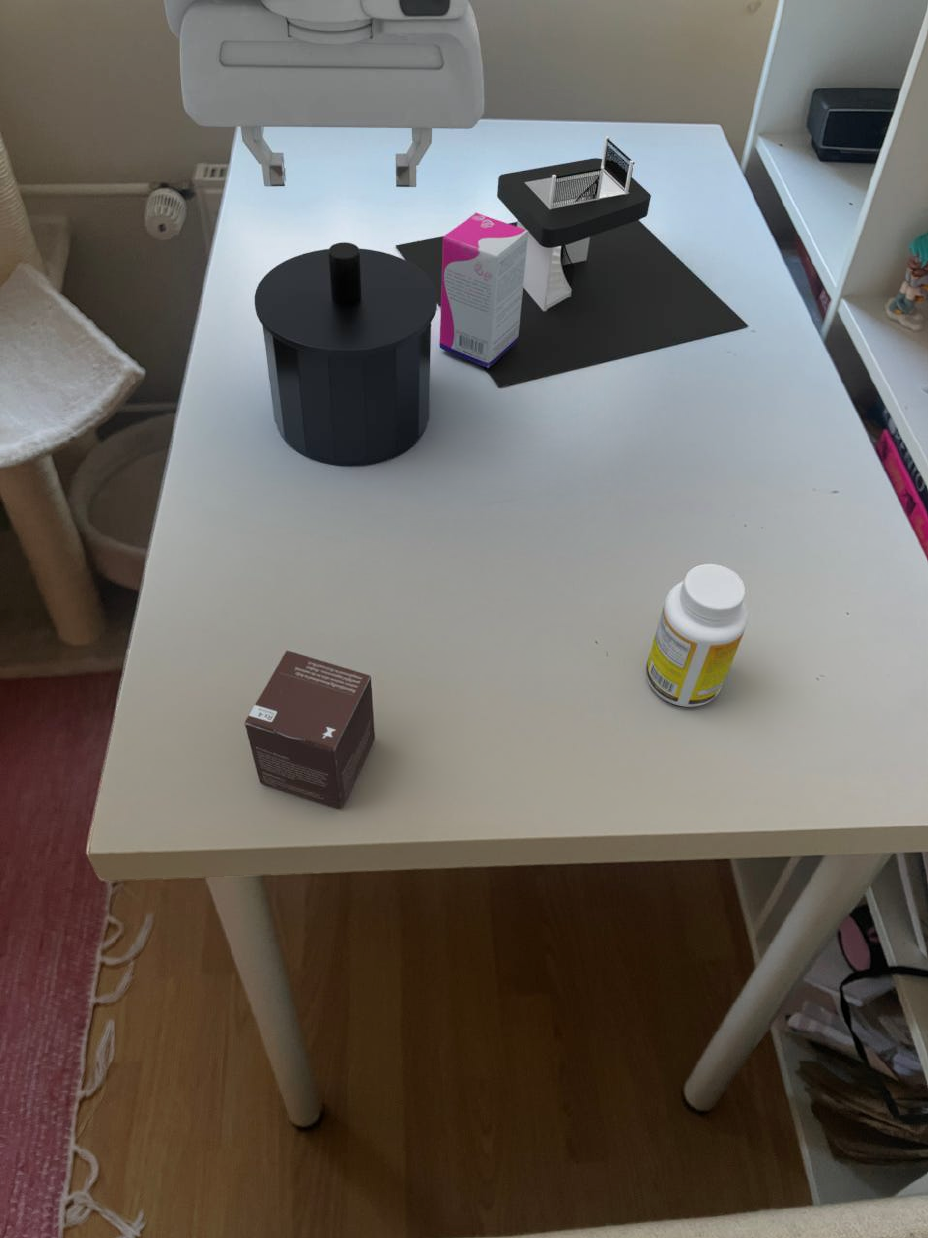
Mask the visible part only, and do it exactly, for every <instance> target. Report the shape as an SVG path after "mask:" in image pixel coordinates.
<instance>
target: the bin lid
mask: <svg viewBox="0 0 928 1238" xmlns="http://www.w3.org/2000/svg"><path fill="white" fill-rule="evenodd" d="M254 309H255V313H256V317H257V318H258V320H259V322H260V324H261V325H263V326H264V328H265V329H266V330H267V331H268V332H269V333H270V334H271V335H273V336H274V337H275V338H277V339H278V340H280V341H282V342H284V343H285V344H287V345H289V346H292V347H294V348H297V349H300V350H303V351H306V352H310V353H315V354H320V355H328V356H342V357H349V356H363V355H371V354H376V353H381V352H385V351H388V350H391V349H394V348H397V347H399V346H402V345H404V344H406V343H408V342H410V341H412V340H413V339H415V338H416V337H417V336H419V335H420V334H421V333H422V332H423V331H425V330H426V329H427V327H428V326H429V325H430V324H431V325H432V322H433V320H434V318H435V316H436V313H437V309H438V303H437V294H436V290H435V288H434V285H433V283H432V282H431V280H430V279H429V277H428V276H427V275H426V274H425V273H424V272H423V271H421V270H420V269H419V268H418V267H416V266H415V265H413V264H411V263H410V262H408V261H406V260H405V258H401V257H399V256H396V255H394V254H391V253H387V252H383V251H380V250H374V249H369V248H368V249H367V248H360V247H358V246H357V245H356V244H354V243H352V242H346V241H345V242H344V241H343V242H342V241H341V242H336V243H333V244H332V245H331V246H330V247H329V248H324V249H319V250H313V251H309V252H304V253H302V254H299V255H296V256H293V257H290V258H289V259H286V260H284V261H282V262H281V263H279V264H277V265H276V266H275V267H273V268H272V269H270V270H269V271H268V272H267V273H266V274H265V275H264V276H263V277H262V279H261V280H260V281H259V283H258V285H257V287H256V289H255V293H254ZM263 326H262V327H263Z"/></svg>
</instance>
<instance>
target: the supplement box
mask: <svg viewBox="0 0 928 1238" xmlns="http://www.w3.org/2000/svg"><path fill="white" fill-rule="evenodd" d="M443 236H444V237H443V255H442V285H441V307H440V321H439V343H438V344H439V349H441V350H444V351H446V352H448V353H451V354H453V355H456V356H457V357H460V358H463V359H466V360H467V361H470V362H472V363H475V364H477V365H480V366H482V367H483V368H485V367H487V368H489V367H490V366H491V365H492V364H494V363H495V362H496V361H497V360H498V359H499V358H500V357H501V356H502V355H503V354H504V353H505V352H506V351H507V350H508V349H510V348H511V347H512V346H513V345H514V344H515V343H516V342H517V341H518V335H519V325H520V314H521V303H522V294H523V283H524V273H525V262H526V252H527V242H528V231H527V230H525V229H522V228H519V227H516V226H513V225H510V224H508V223H507V222H504V221H502V220H498V219H495V218H494V217H493V218H492V217H490V216H488V215H484V214H483V213H482V214H481V213H479V212H475V213H474V214H472V215H470V217H468V218H467V219H466V220H464V221H463V222H461V223H460V224H459V225H458V226H456V227H455V228H453V229H452V230H450V231H449V232H448V233H446V234H444V235H443Z"/></svg>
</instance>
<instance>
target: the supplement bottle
mask: <svg viewBox="0 0 928 1238" xmlns="http://www.w3.org/2000/svg"><path fill="white" fill-rule="evenodd" d="M745 597H746V586H745V583H744V581H743V580H742V578H741V577H740V576H739V575H738V573H736V572H735V571H733V570H732V569H731V568H729V567H726V566H723V565H720V564H716V563H703V564H699V565H697V566H694V567H692V568H691V569H690V570H689V571H688V572H687V574H686V575H685V577H684V580H682V581H680V582H678V583H677V584H675V585H674V586H673V587H672V588H671V589H670V591H669V592H668V593H667V594H666V597H665V600H664V602H663V607H662V610H661V614H660V617H659V620H658V625H657V628H656V631H655V634H654V638H653V641H652V643H651V648H650V650H649V651H650V652H649V655H648V658H647V660H646V661H647V662H646V666H645V667H646V668H645V671H646V672H645V673H646V679H647V681H648V684H649V686H650V688H651V689H652V691H654V693H655V694H656V695H658V696H659V697H660V698H662V700H664V701H666V702H668V703H669V704H673V705H676V706H680V707H684V708H693V707H695V708H696V707H700V706H703V705H706V704H709V703H710V702H712V701H713V700H715V698H716V697H717V696H718V695H719V694H720V692H721V690H722V688H723V686H724V683H725V680H726V678H727V675H728V673H729V671H730V668H731V666H732V663H733V660H734V659H735V656H736V653H737V652H738V649H739V647H740V643H741V642H742V638H743V636H744V633H745V631H746V629H747V625H748V623H749V609H748V606H747V603H746V602H745Z"/></svg>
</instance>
